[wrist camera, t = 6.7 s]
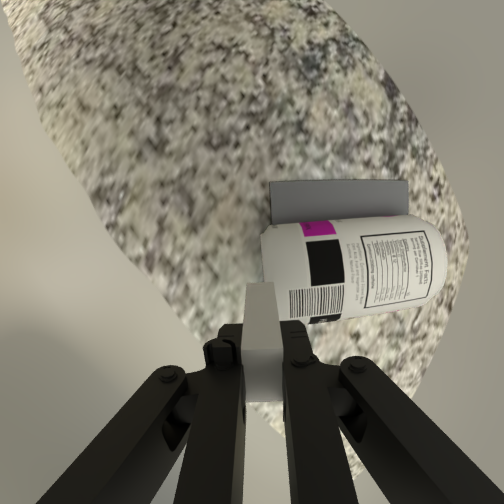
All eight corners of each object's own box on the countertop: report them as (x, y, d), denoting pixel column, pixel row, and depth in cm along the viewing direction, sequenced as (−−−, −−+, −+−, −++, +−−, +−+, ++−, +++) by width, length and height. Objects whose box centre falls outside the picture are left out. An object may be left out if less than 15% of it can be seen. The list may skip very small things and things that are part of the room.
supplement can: (257, 205, 22) (421, 195, 22) (263, 268, 29) (399, 254, 28) (264, 291, 17) (464, 265, 16) (269, 343, 23) (424, 319, 23)
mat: (269, 182, 25) (269, 182, 25) (406, 180, 25) (408, 180, 24) (276, 312, 29) (276, 314, 28) (399, 299, 28) (401, 301, 28)
